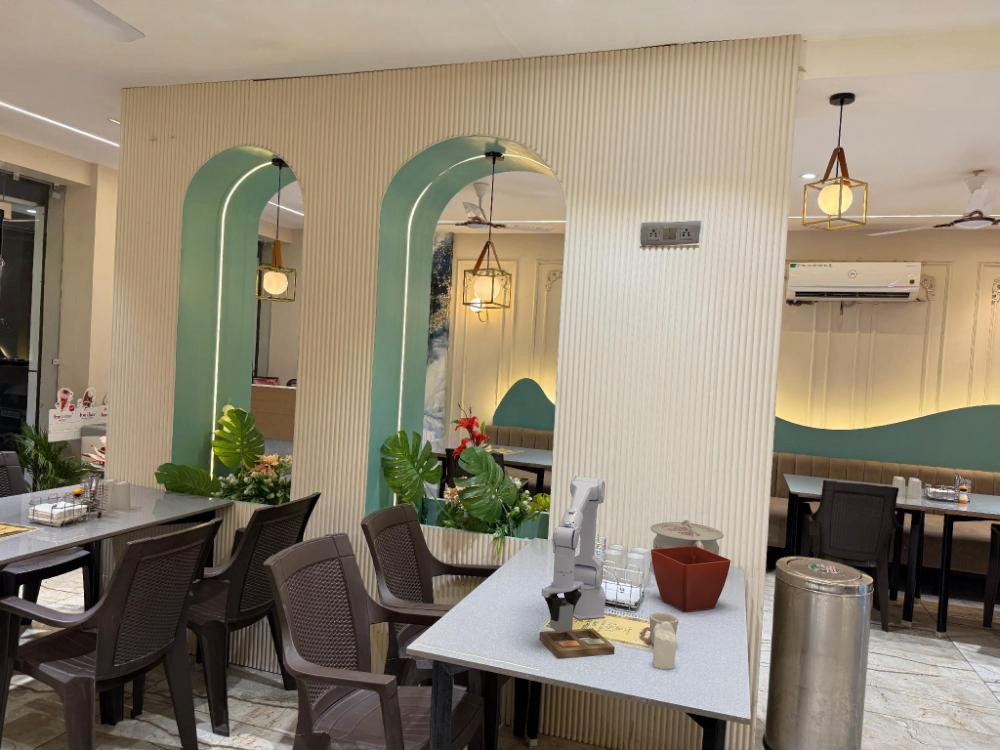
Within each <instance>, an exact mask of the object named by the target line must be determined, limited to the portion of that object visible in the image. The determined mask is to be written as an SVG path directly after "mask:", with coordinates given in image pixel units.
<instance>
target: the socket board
mask: <svg viewBox="0 0 1000 750" xmlns="http://www.w3.org/2000/svg"><path fill="white" fill-rule="evenodd" d="M539 640H540V641H541V643H543V644H544V646H545V647H546V648H547V649H549V651H550V652H551V653H552V654H553V655H554V656H555V657H556V658H557V659H559V660H560V659H570V658H572V659H573V658H582V657H583V658H585V657H594V656H607V655H615V650H616V649H615V645H613V644H612V643H611V642H610V641H609V640H607V639H606V638H605V637H604V636H603V635H601V634H600V633H599V632H598V631H597V630H595V629H594V628H579V629H577V628H576V629H572V631H565V632H557V631H555V630H551V631H540V632H539Z"/></svg>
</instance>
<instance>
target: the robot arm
mask: <svg viewBox="0 0 1000 750" xmlns="http://www.w3.org/2000/svg"><path fill="white" fill-rule="evenodd" d="M569 491H570V495H571V497H572V500H571V504H570V507H569V508H567V509H565V511H564V513H563V515H562V518H561V521H560V523H559V526H557V527H555V528H554V530H553V533H552V548H553V549H552V550H553V551H552V552H553V554H554V556H553V557H554V561H553V578H552V580H553V581H552V582H551V583H550V585H548V586H547V587H544V588H541V596H542V597H543V598H544V600H545V602H546V604H547V608H548V610H549V611H548V612H549V615H550V616H549V617H551V620H553V621H558V617H559V608H560V604H561V602H562V600H563V599H562V598H561V597H559V595H560V594H563V598H566V602H568V603H570V604H572V605H574V606H573V617H575V618H576V619H577V620H584V619H585V620H586V619H599V618H605V617H606V615H605V604H606V603H605V601H606V594H605V590H604V588H603V586H602V584H603V579H604V569H603V568H604V565H603V561H602V560H601V559H599V558H598V557H597V556H596V554H595V553H596V552H595V550H596V549H595V548H596V537H597V536H596V532H597V518H598V517H597V516H598V515H597V514H598V508H599V505H600V504H603V503H604V500H605V494H606V482H605V480H604V479H603V478H596V477H595V478H594V477H586V476H578V475H573V476H572V477H571V480H570V484H569ZM579 541H580V542H579ZM579 543H580V544H579ZM578 545H579V554H578V555H576V549H577V547H578Z"/></svg>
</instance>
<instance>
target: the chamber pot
mask: <svg viewBox="0 0 1000 750" xmlns="http://www.w3.org/2000/svg"><path fill="white" fill-rule="evenodd" d="M649 529H650V531H651V532H653V533H655V534H656V535H655V537H654V538H653V540H652V548H653V549H662V548H674V547H685V546H697V547H699V548H702V549H704V550H707V551H709V552H712V553H714V554H717V555H719V556H720V545H719V544H718V540H720V539H723V538H724V536H725V534H724V533H723V532H722V531H720V530H718V529H716V528H714V527H710V526H707V525H704V524H700V523H699V524H698V523H693V522H691V521H690V520H688V519H685V520H683V521H668V522H666V521H665V522H659V523H655V524H653V525H651V526H650V527H649Z"/></svg>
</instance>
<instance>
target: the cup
mask: <svg viewBox="0 0 1000 750" xmlns="http://www.w3.org/2000/svg"><path fill="white" fill-rule="evenodd" d="M666 621H667V622H669V623H670V624H672V628H673V630H674V631H675V634H676V635H677V631H678V625H679V624H678V623H679V618H678V616H676V615H674V614H672V613H667V612H661V611H660V612H653V613H650V615H649V632H650V633H649V636H650V642H651V644H652V645H654V634H655V632H656V631H657V630H658V629H659V627H660V626H661V624H662V623H664V622H666Z"/></svg>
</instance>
